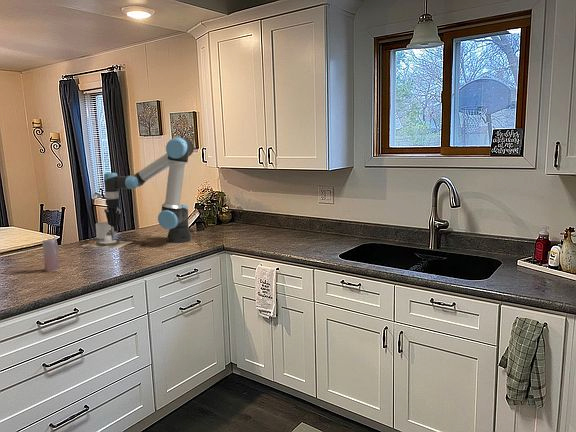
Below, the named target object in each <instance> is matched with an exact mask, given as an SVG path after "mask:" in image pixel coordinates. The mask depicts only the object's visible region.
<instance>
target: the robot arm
mask: <svg viewBox="0 0 576 432" xmlns="http://www.w3.org/2000/svg"><path fill="white" fill-rule="evenodd" d="M193 143H194V142H192V141H191V140H190V139H189V138H187V137H173V138H171V139H170V140H169V141H168V142H167V143H166V146H165V151H166V153H165V154H163V155H162V156H160V157H159V158H157V159H155V160H153V162H151V163H150V164H148V165H147V166H145V167H144V168H142V169H140V170H139V171H138V172H136V173H135V174H132V175H131V174H130V175H126V176H124V175H121V176H119V175H118V173H117V172H105V173H104V174H103V183H104V184H103V185H104V198H105V205H106V209H105V208H104V210H103V211H104V213H105V217H106V222H108V225H110V226H111V231H112V237H114V238H116V237H117V236H118V226H120V224H121V223H120V222H121V216H122V215H121V214H122V212H123V210H121V209H120V208H119V205H120V199H119V198H120V197H119V189H124V190H135V189H137V188H138V187H142V186H144V185H145V183H146V182H148V181H150V180H151V179H152V178H154V177H156V176H157V175H159V174H160V173H161V172H163V171H165V170H166V169H168V175H167V183H166V193H165V200H164V202H163V203H162V204H161V211H160V212H159V213H158V216H157V222H158V224H159V225H160V227H162V228H164V229H166V230H168V233H167V237H166V239H167V242H169V243H187V242H190V241H192V240H191V239H193V237H192V233H191V232H190V229H189V208H188V205H187V204H181V197H182V188H183V180H184V172H185V165H186V164H187V163H188V161H189V157H190V156H192V155H193V153H194V151H195V145H194V144H193ZM189 240H190V241H189ZM186 241H187V242H186Z"/></svg>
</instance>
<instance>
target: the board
mask: <svg viewBox="0 0 576 432" xmlns="http://www.w3.org/2000/svg"><path fill="white" fill-rule="evenodd" d="M102 240H103V239H98V240H94V239H93V240H88V241H87V243H86V244H83V245H82V247H87V248H88V247H90V248H108V249H120V248H122V247H124V246H128V245H129V244H131V243H133V241H130V240H129V241H125V240H124V241H123V240H119V239H117V238H112V240H117V242H114V243H99V241H102Z"/></svg>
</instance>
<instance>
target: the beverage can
mask: <svg viewBox="0 0 576 432" xmlns="http://www.w3.org/2000/svg"><path fill="white" fill-rule="evenodd" d="M57 244H58V241H57V239H56V238H46V239H43V240H42V252H43V263H44V265H43V266H44V270H45V272H48V273H49V272H50V273H51V272H56V271H58V270H59V269H60V267H59V264H60V263H59V255H58V245H57Z"/></svg>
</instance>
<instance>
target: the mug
mask: <svg viewBox="0 0 576 432" xmlns="http://www.w3.org/2000/svg"><path fill="white" fill-rule="evenodd" d="M110 229H111V226H110V225H108V221H101V222H97V223H95V234H96V238H97V239H98V240H104V235H107V232H109V230H110Z"/></svg>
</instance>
